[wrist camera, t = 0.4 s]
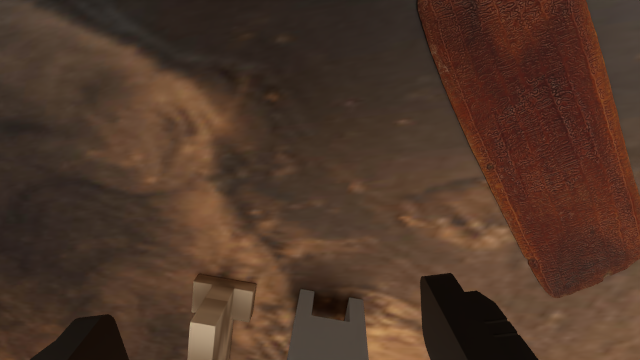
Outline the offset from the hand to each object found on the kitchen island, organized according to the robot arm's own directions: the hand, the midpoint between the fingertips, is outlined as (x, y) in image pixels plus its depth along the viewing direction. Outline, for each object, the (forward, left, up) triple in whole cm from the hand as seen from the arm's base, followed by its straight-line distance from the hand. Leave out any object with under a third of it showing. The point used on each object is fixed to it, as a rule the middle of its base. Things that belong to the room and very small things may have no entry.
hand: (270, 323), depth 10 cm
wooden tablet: (-4, +16, -21) cm, 26 cm away
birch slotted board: (+20, -6, -20) cm, 29 cm away
